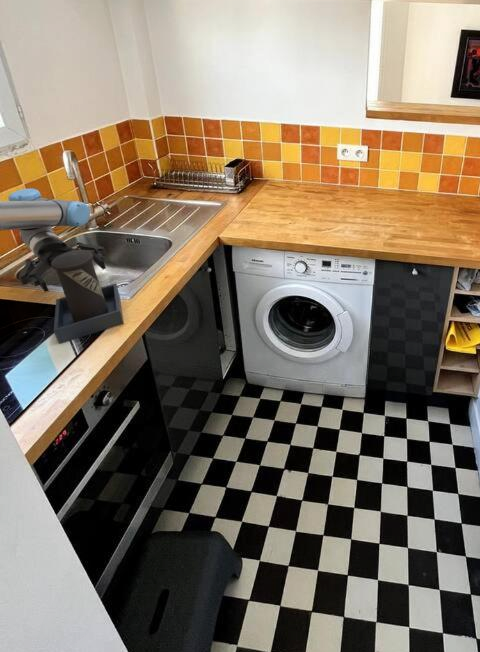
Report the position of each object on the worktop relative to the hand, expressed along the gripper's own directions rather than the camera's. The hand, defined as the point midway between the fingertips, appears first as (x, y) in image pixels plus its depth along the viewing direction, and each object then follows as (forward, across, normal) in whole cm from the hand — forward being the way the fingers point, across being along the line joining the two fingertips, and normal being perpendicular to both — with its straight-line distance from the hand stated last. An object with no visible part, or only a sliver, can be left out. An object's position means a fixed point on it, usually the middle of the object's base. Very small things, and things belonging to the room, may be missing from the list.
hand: (75, 275), depth 104 cm
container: (+2, 0, -13) cm, 13 cm away
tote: (+2, 0, -13) cm, 13 cm away
